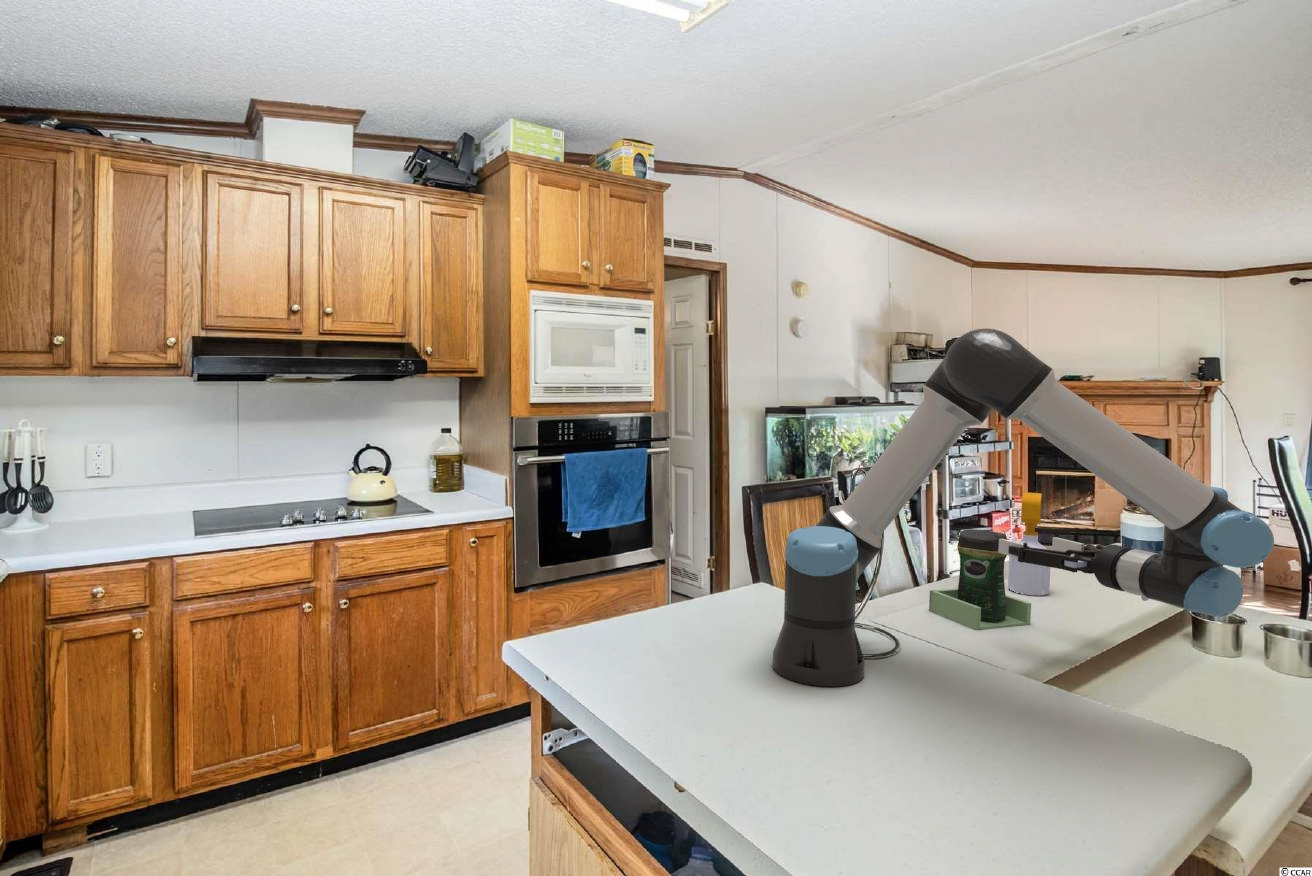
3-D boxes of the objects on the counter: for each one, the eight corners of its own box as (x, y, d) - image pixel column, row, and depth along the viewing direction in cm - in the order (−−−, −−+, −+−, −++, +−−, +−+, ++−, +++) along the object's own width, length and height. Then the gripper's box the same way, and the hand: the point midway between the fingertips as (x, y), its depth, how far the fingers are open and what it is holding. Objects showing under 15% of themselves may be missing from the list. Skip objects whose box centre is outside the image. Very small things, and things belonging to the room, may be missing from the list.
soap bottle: (1049, 590, 173) (1053, 493, 172) (1048, 598, 165) (1052, 496, 164) (1009, 585, 177) (1013, 490, 176) (1006, 592, 170) (1010, 493, 169)
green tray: (976, 629, 140) (977, 608, 139) (929, 610, 153) (929, 590, 153) (1030, 624, 144) (1031, 603, 144) (979, 606, 157) (980, 586, 157)
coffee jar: (1010, 617, 147) (1014, 531, 146) (997, 625, 142) (1000, 535, 141) (964, 607, 154) (967, 525, 153) (950, 614, 149) (952, 529, 148)
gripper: (1072, 595, 113) (975, 565, 133) (1180, 589, 121) (1073, 561, 141) (1075, 550, 113) (978, 527, 133) (1184, 546, 120) (1076, 525, 140)
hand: (1027, 544), depth 137 cm, fingers open, 13 cm apart
